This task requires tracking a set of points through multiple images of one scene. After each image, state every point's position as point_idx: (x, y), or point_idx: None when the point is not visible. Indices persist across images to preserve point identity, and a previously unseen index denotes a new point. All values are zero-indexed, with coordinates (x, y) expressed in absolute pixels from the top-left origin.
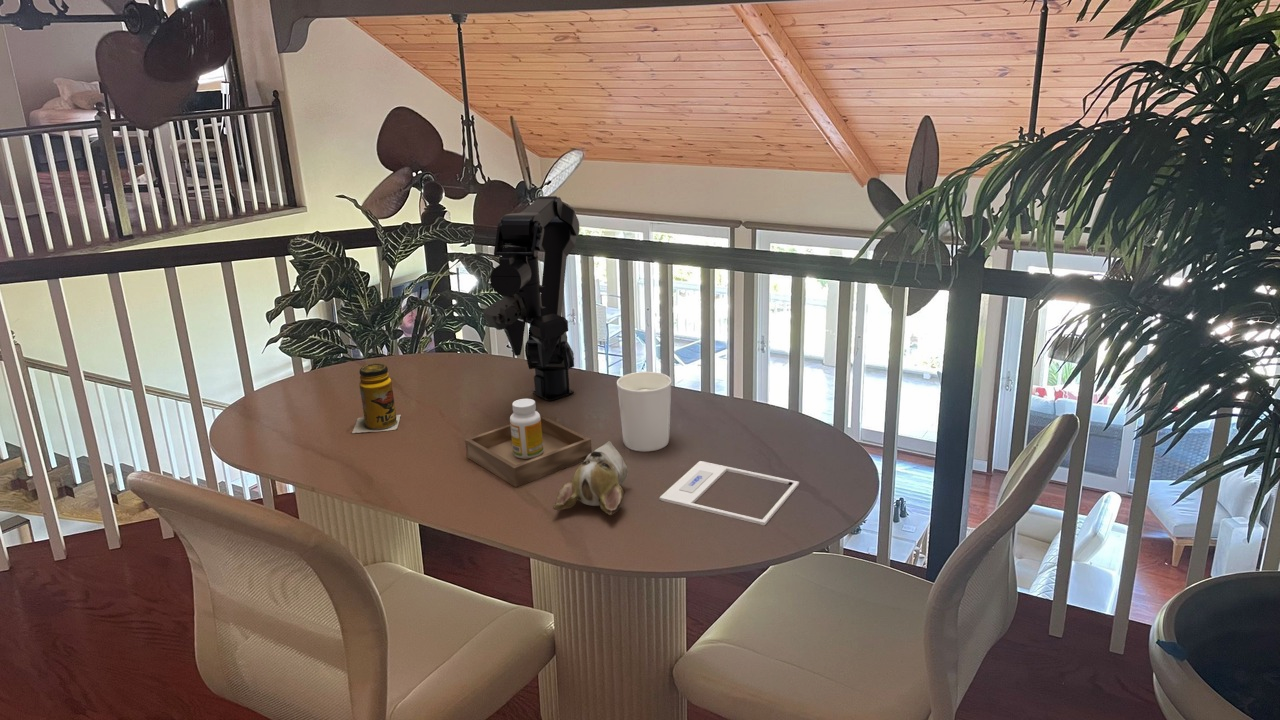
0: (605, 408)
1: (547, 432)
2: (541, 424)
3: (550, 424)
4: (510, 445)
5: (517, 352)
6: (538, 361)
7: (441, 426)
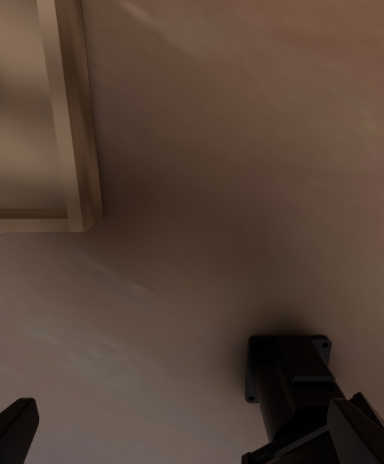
0: (121, 392)
1: (42, 210)
2: (61, 213)
3: (1, 217)
4: (34, 78)
5: (338, 426)
6: (319, 438)
7: (362, 4)
